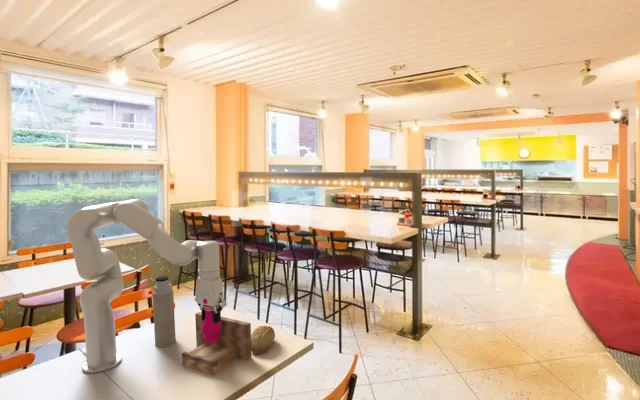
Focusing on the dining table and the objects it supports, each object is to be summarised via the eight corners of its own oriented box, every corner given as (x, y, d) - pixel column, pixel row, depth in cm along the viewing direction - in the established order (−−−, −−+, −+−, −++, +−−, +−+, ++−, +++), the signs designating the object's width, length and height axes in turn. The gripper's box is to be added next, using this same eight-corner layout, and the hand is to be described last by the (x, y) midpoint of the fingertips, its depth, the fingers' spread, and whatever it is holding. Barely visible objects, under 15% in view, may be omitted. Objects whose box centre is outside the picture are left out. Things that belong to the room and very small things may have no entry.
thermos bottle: (175, 336, 155) (172, 273, 152) (175, 344, 147) (172, 279, 145) (155, 339, 152) (152, 276, 149) (154, 348, 144) (150, 281, 142)
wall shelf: (172, 361, 134) (170, 326, 133) (200, 344, 147) (198, 311, 146) (226, 378, 123) (225, 339, 122) (251, 358, 136) (250, 323, 135)
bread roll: (279, 338, 152) (278, 320, 151) (269, 356, 137) (268, 337, 137) (257, 337, 153) (257, 319, 153) (245, 355, 139) (244, 335, 138)
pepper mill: (216, 344, 130) (214, 292, 129) (198, 342, 132) (196, 290, 130) (225, 335, 137) (223, 285, 136) (208, 333, 139) (206, 284, 137)
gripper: (184, 274, 133) (187, 320, 134) (220, 279, 125) (222, 328, 127) (199, 268, 139) (201, 313, 141) (234, 273, 132) (235, 320, 134)
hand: (211, 320), depth 134 cm, fingers closed on pepper mill, 5 cm apart
